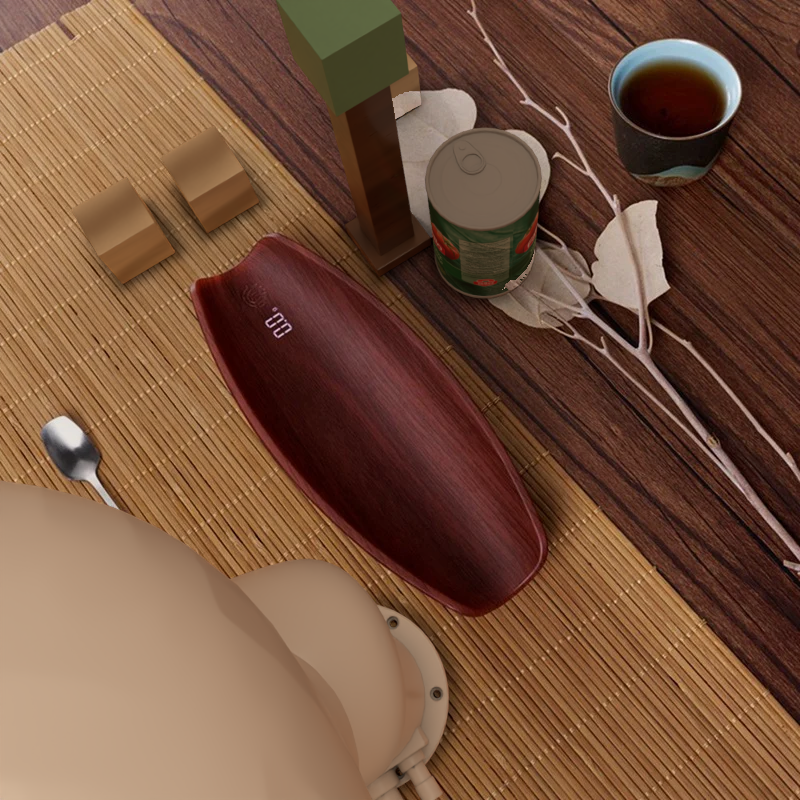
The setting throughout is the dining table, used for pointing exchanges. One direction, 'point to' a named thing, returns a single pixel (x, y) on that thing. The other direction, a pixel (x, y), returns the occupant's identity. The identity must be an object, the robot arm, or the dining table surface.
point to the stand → (377, 184)
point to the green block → (346, 47)
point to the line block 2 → (210, 178)
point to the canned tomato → (483, 209)
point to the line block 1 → (122, 230)
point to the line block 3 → (407, 80)
